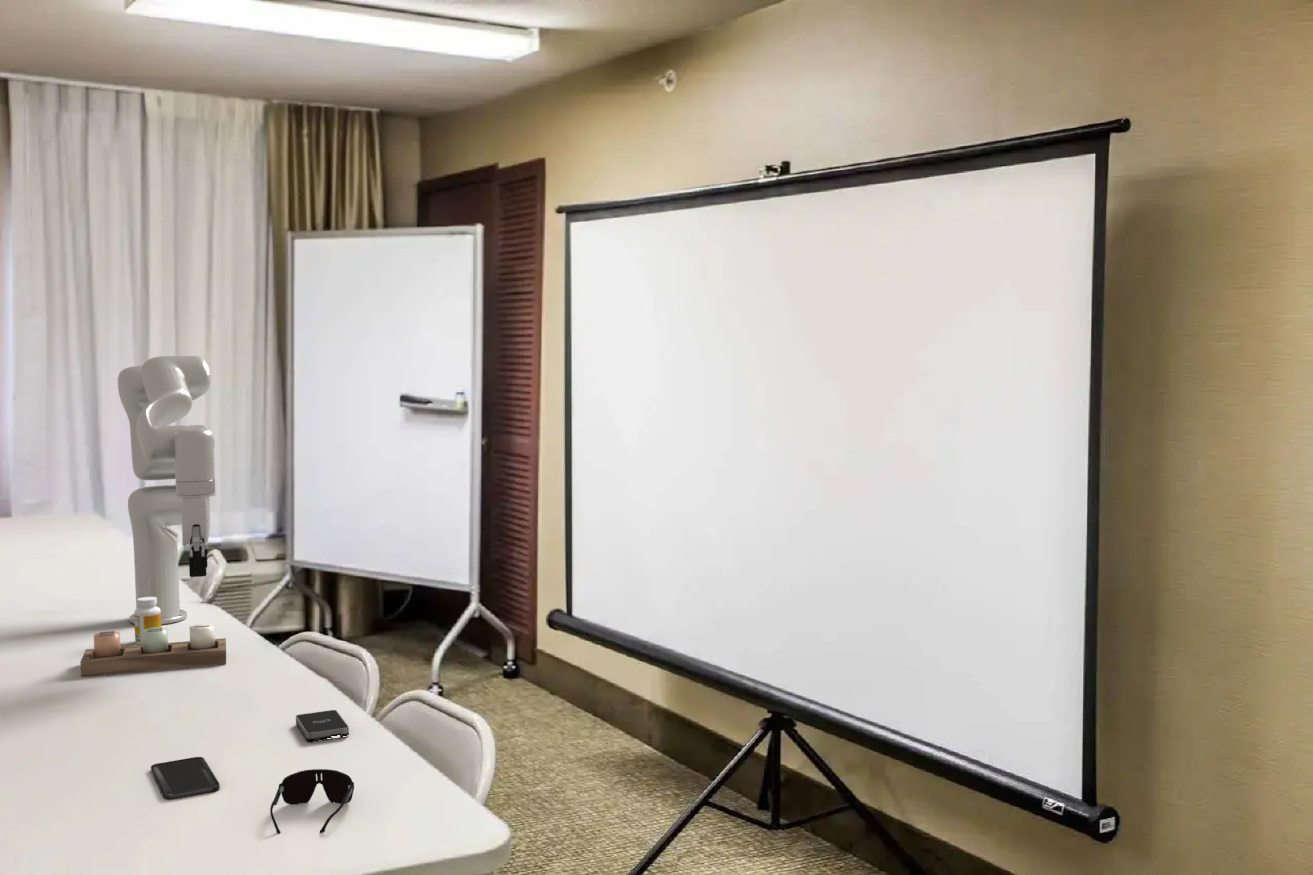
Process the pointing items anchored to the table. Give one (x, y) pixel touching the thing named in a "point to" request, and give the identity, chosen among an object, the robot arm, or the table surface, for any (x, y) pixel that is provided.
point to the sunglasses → (304, 784)
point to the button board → (153, 659)
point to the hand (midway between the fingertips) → (198, 572)
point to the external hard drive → (321, 725)
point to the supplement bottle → (146, 617)
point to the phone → (184, 778)
